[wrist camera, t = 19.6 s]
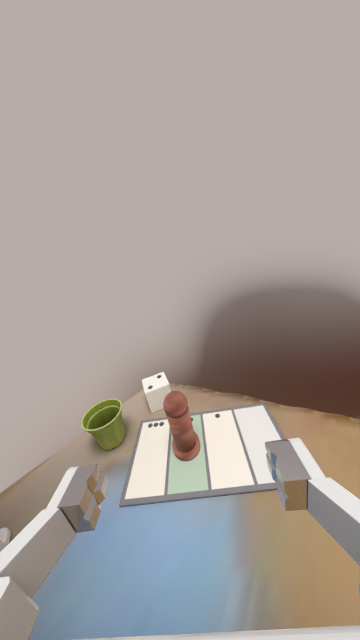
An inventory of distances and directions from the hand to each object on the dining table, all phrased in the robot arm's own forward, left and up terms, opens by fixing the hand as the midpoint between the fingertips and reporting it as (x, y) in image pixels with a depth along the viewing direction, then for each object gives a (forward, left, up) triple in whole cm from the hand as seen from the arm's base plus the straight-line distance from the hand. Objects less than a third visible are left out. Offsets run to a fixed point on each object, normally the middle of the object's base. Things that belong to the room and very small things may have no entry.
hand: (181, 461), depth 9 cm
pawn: (-5, +23, -29) cm, 38 cm away
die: (-13, +39, -30) cm, 51 cm away
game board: (-1, +23, -30) cm, 38 cm away
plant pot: (-24, +28, -30) cm, 48 cm away
